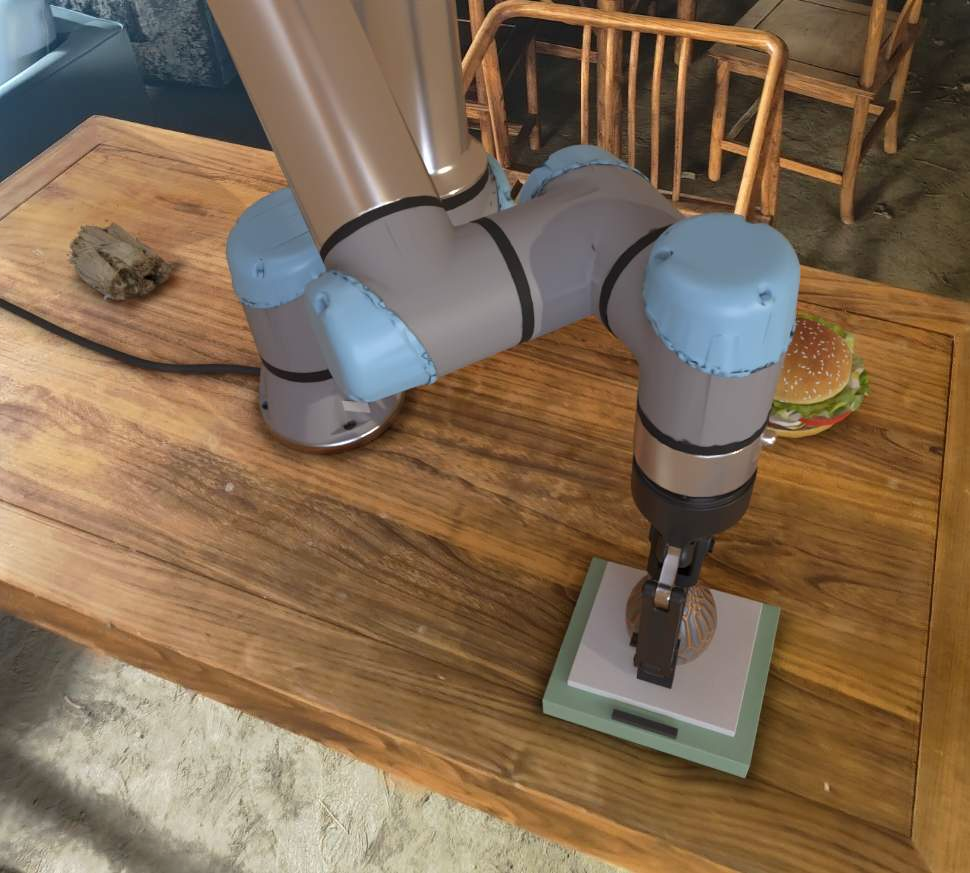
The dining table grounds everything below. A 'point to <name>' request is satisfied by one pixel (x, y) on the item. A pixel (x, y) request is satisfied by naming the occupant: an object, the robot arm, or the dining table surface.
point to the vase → (694, 624)
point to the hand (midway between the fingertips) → (666, 637)
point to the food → (817, 380)
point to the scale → (696, 686)
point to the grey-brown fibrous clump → (116, 262)
